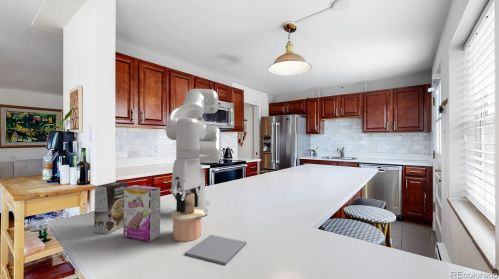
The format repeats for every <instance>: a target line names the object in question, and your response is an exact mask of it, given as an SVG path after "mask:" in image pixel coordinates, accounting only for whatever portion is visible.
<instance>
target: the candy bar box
mask: <svg viewBox="0 0 499 279" xmlns="http://www.w3.org/2000/svg"><path fill="white" fill-rule="evenodd" d="M160 236H161V187H155V186H146V185H137V184H135V185H134V184H133V185H130V186H129V185H128V187H125V188H124V227H123V238H128V239H132V240H138V241H143V242H147V243H150V242H153V241H154V240H156V239H158V238H159V237H160Z"/></svg>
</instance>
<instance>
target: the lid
mask: <svg viewBox="0 0 499 279" xmlns="http://www.w3.org/2000/svg"><path fill="white" fill-rule="evenodd" d="M184 200H185V201H186V210H185V212H184V213H182V212H177V211H176V210H173V211H172V212H170V218H171V219H172V221H173V220H177V221H190V220H195V219H198V218H201V217H202V216H203V215H204V211H203V210H202V209H199V208H194V193H185V197H184ZM203 217H204V216H203ZM203 217H202V218H203Z"/></svg>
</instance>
